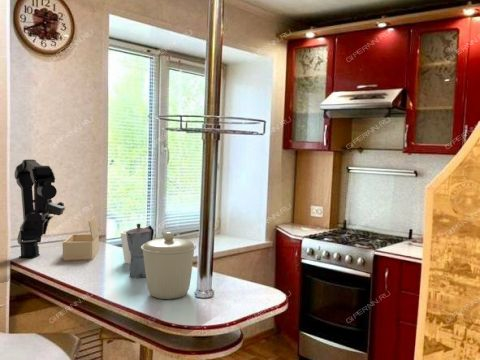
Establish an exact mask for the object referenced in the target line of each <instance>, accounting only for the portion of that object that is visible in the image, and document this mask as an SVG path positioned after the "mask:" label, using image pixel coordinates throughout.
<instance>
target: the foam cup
mask: <svg viewBox="0 0 480 360" xmlns="http://www.w3.org/2000/svg"><path fill="white" fill-rule="evenodd" d="M129 230H130V229H128V230H122V231H120V239H121V246H122V252H123V254H122V255H123V260H124V263H125V264H127V263H128V265H130V262H131V255H130V251H129V247H128V241H127V235H126V232H127V231H129Z"/></svg>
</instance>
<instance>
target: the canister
mask: <svg viewBox="0 0 480 360" xmlns="http://www.w3.org/2000/svg"><path fill="white" fill-rule="evenodd" d="M162 236H163V238H156V239H153V240H151V241H148V242H146V243H145V244H144V245H142V246H141V249H142V250H143V255H144V264H145V273H146V277H145V279H146V280H145V281H146V286H147V291H148V292H149V295H150V296H152V297H153V298H156V299H161V300H174V299H178V298H181V297H184V296H185V295H187V294H188V292H189V290H190V286H191V278H192V274H193V273H192V271H193V264H194V263H193V262H194V254H195V249H196V248H197V245H196V244H195V243H194V242H192V241H191V240H187V239H184V238H177V237H176V238H175V234H174V233H173V232H171V231H166V232H165V233H164V234H163V235H162Z"/></svg>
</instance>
